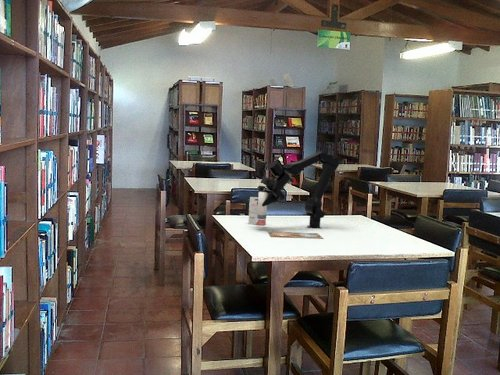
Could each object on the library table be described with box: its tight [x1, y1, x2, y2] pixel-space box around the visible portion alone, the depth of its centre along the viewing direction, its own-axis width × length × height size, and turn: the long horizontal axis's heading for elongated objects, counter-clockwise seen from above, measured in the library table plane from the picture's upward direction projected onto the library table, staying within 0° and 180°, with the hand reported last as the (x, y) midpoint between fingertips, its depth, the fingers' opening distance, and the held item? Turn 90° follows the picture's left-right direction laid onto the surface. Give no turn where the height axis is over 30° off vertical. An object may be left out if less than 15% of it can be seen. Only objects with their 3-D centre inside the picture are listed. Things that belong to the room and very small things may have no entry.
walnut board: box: [267, 231, 324, 240], centre depth 245 cm, size 13×25×1 cm, turn 95°
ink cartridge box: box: [247, 196, 267, 226], centre depth 274 cm, size 9×5×15 cm, turn 74°
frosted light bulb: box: [257, 191, 268, 220], centre depth 253 cm, size 4×4×13 cm
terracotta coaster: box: [272, 231, 291, 237], centre depth 245 cm, size 9×9×1 cm
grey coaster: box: [299, 232, 318, 239], centre depth 246 cm, size 9×9×1 cm
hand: (260, 205), depth 253 cm, fingers closed on frosted light bulb, 4 cm apart
